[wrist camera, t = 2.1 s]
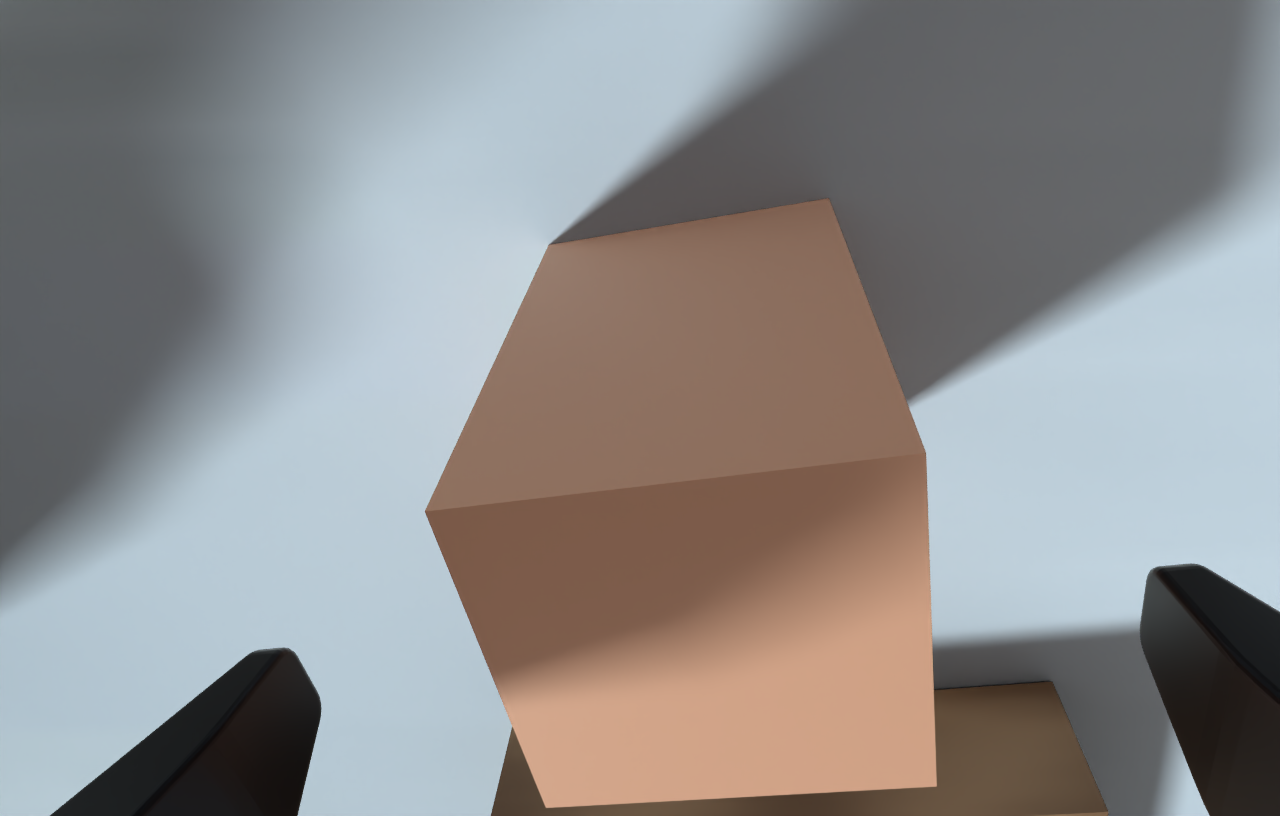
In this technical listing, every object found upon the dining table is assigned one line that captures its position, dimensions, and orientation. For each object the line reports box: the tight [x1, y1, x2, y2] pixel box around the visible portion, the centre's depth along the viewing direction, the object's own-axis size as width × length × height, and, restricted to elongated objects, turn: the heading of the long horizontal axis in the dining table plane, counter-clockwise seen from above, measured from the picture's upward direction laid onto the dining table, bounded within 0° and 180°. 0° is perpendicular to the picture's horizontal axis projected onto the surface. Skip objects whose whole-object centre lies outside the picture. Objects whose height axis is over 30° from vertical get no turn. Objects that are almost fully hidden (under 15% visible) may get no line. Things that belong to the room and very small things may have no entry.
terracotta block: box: [425, 198, 937, 808], centre depth 12 cm, size 4×4×7 cm
